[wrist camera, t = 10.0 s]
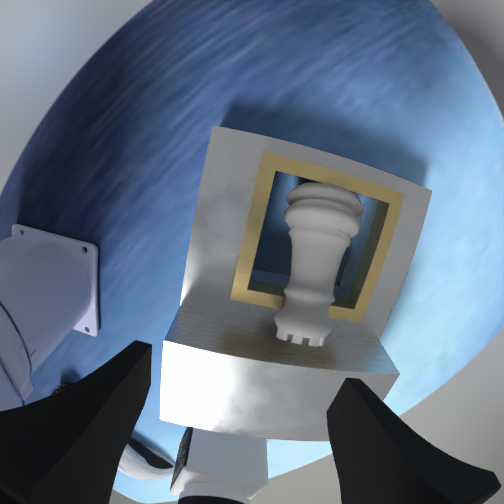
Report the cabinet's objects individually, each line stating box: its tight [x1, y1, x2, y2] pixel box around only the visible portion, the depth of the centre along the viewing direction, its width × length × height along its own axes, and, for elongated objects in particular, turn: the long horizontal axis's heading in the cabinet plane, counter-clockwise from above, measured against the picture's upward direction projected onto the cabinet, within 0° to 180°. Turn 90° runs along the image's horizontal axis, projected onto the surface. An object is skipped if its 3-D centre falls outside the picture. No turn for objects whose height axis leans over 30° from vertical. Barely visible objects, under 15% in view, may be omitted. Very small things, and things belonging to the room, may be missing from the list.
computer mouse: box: [56, 382, 175, 480], centre depth 24 cm, size 10×18×4 cm, turn 44°
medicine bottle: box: [170, 426, 268, 504], centre depth 19 cm, size 7×7×12 cm
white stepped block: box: [160, 126, 432, 441], centre depth 17 cm, size 14×18×6 cm
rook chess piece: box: [273, 182, 364, 347], centre depth 15 cm, size 4×4×8 cm
